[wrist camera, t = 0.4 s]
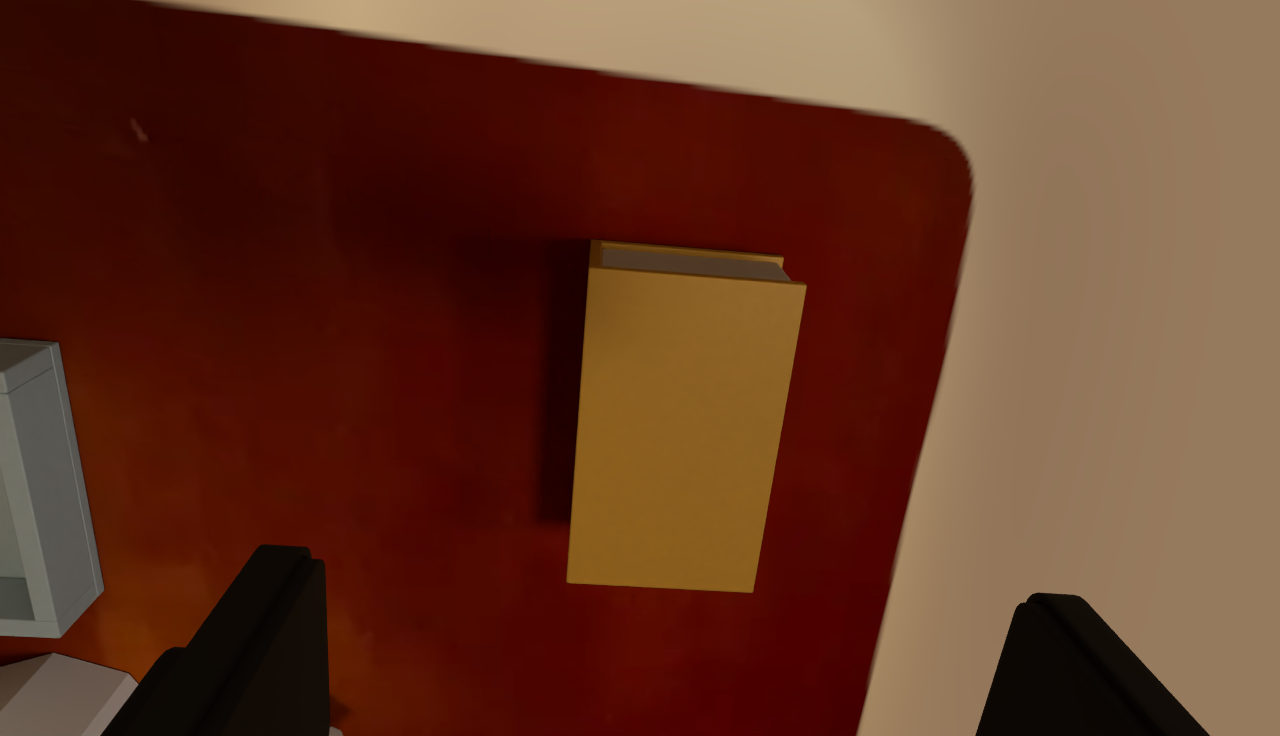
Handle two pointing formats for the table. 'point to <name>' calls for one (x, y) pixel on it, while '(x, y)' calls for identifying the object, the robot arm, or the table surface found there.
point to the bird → (335, 732)
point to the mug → (60, 697)
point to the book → (679, 414)
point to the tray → (41, 498)
